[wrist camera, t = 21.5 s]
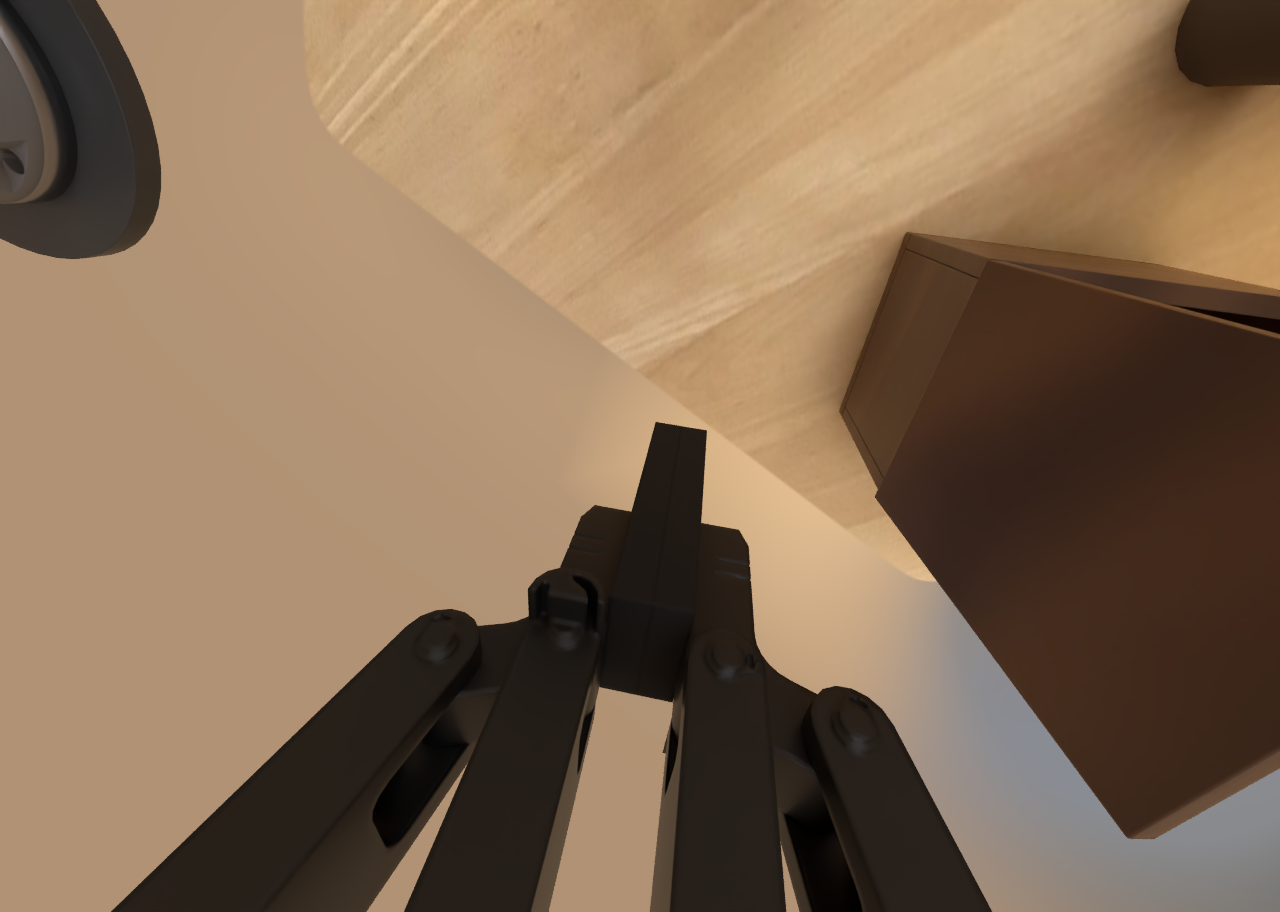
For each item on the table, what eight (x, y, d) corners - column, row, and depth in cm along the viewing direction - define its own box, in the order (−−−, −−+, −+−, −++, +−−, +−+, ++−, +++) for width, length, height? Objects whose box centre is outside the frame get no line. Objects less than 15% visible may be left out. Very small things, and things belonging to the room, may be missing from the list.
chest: (1157, 264, 26) (1366, 308, 17) (1039, 443, 32) (1151, 538, 23) (906, 231, 26) (990, 258, 18) (838, 411, 33) (878, 492, 24)
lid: (1808, 472, 6) (1756, 468, 6) (1155, 840, 12) (1126, 839, 12) (1005, 261, 18) (986, 258, 18) (888, 497, 24) (873, 496, 24)
